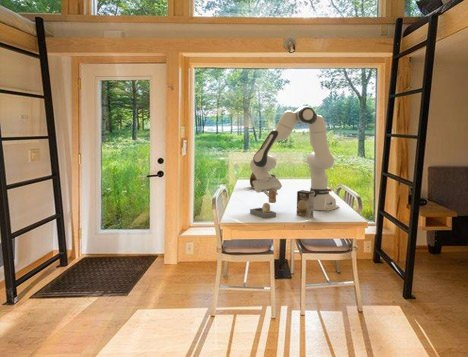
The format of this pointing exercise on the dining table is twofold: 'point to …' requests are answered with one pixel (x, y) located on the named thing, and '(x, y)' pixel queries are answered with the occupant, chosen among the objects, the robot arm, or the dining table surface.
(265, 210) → the cream egg
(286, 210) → the dining table surface
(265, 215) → the egg carton
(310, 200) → the coffee box
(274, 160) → the robot arm
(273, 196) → the brown rounded oval piece
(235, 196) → the dining table surface
